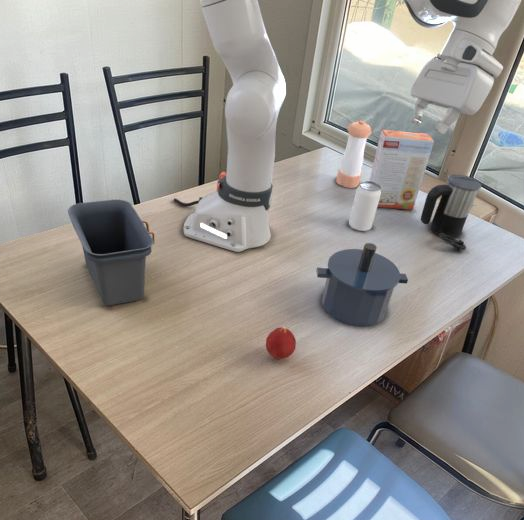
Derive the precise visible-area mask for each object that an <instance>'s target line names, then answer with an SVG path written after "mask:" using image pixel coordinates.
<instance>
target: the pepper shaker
mask: <svg viewBox="0 0 524 520" xmlns="http://www.w3.org/2000/svg"><path fill="white" fill-rule="evenodd" d="M347 133H348V137H347V142H346V147H345V150H344V152H343V154H342V158H341V161H340V167H339V168H338V170H337V174H336V179H335V182H336V183H337V184H338V185H339V186H341V187H344V188H347V189H348V188H349V189H353V188H358V187H359V185H360V182H361V176H362V168H363V165H364V154H365V149H366V144H367V140H368V138H369V137H370V136H371V134H372V127H371V126H370V125H369V124H368V123H366V122H365V121H364V120H359V121H354V122H351V123H349V125H348V127H347Z"/></svg>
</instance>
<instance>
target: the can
mask: <svg viewBox="0 0 524 520" xmlns="http://www.w3.org/2000/svg"><path fill="white" fill-rule="evenodd" d="M380 189H381V186H380V185H379V184H377V183H375V182H372V181H369V180H363V181H360V182H359V185H358V186H357V187H356V191H355V195H354V199H353V203H352V206H351V211H350V215H349V219H348V225H349V227H350V228H351V229H353V230H355V231H358V232H368V231H369V230H371V229H372V227H373V224H374V220H375V217H376V213H377V210H378V207H377V206H378V203H379V199H380V195H381V191H380Z"/></svg>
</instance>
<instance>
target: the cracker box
mask: <svg viewBox="0 0 524 520" xmlns="http://www.w3.org/2000/svg"><path fill="white" fill-rule="evenodd" d="M434 144H435V140H434V139H433V138H432V136H431V135H430V134H429V133H422V132H421V133H420V132H411V131H401V130H392V129H391V130H390V129H381V131H380V135H379V139H378V143H377V147H376V150H375V156H374V159H373V163H372V168H371V172H370V176H369V180H368V181H372V182H375V183H377V184H379V185H380V186H381V189H380V191H381V195H380V199H379V203H378V206H377V208H385V209H396V210H397V209H399V210H408V211H409V210H410V211H413V210H414V207H415V204H416V201H417V198H418V194H419V191H420V189H421V185H422V182H423V178H424V176H425V173H426V169H427V166H428V164H429V159H430V157H431V153H432V149H433V147H434Z"/></svg>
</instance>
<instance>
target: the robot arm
mask: <svg viewBox="0 0 524 520" xmlns="http://www.w3.org/2000/svg"><path fill="white" fill-rule="evenodd" d="M198 1H199V4H200V7H201V11H202V14H203V17H204V20H205V23H206V27H207V30H208V33H209V36H210V39H211V42H212V45H213V49H214V50H215V52H216V53H217V54H218V56H219V57H220V58H221V60H222V62H223V64H224V66H225V68H226V70H227V72H228V74H229V77H230V79H231V82H232V87H231V88H230V89H229V91H228V93H227V95H226V100H225V104H224V105H225V106H224V116H225V122H226V123H225V124H226V125H225V126H226V127H225V128H226V139H227V157H226V171H221V172H220V174H219V176H218V180H217V185H216V190H215V191H213V192H211V193H209V194H207V195H205V196H202V197H201V196H199V198H198V200H194V201H191V202H186V203H185V202H182V201H180V200H179V199H177V198H176V197H174V198H173V202H174V203H177V204H178V205H180V206H182V207H192V206H195V205H196V206H195V208H194V211H193V212H191V214H189V215H188V217H186V219H185V221H184V223H183V229H182V230H183V234H184V236H185V237H187V238H190V239H193V240H196V241H199V242H202V243H206V244H209V245H212V246H215V247H219V248H222V249H225V250H228V251H231V252H235V253H240V252H243V251H245V250H247V249H252V248H253V249H254V248H259V247H262V246H264V245H266V244H268V242H270V240H271V239H272V238H271V237H272V233H271V229H270V228H271V227H270V207H271V205H272V198H273V192H274V191H273V187H274V184H273V182H272V181H273V176H274V175H273V174H274V165H275V159H276V158H275V157H276V131H277V122H278V117H279V113H280V110H281V108H282V106H283V104H284V101H285V99H286V95H287V87H286V86H287V85H286V80H285V76H284V75H283V72H282V69H281V67H280V65H279V62H278V59H277V56H276V53H275V51H274V49H273V46H272V44H271V42H270V38H269V36H268V33H267V30H266V27H265V23H264V19H263V15H262V12H261V8H260V3H259V1H258V0H198ZM521 2H522V0H403V3H404V4H405V6H406V8H407V10H408V12H409V14H410V16H411V18H412V19H413V20H414V22H415V23H416V24H418V25H419V26H420V27H424V28H426V29H427V28H428V29H434V28H435V29H436V28H440V27H442V26H444V25H446V24H447V23H448V22H450V23H452V24H453V29H452V31H451V32H450V33H449V36H448V38H447V40H446V42H445V44H444V46H443V48H442V50H441V52H440V53H437V54H436V56H434V57H433V58H431V59H430V60H428V61H427V62H426V63H425V65H424V66H423V68H422V69H421V70H420V72H419V73H418V75H417V76H416V79H415V80H414V81H413V84H412V85H411V87H410V91H409V95H410V97H412V98H414V99H416V101H415V103H414V109H413V114H412V115H411V118H410V122H411V123H412V124H414V125H415V126H420V125H421V124H422V122H423V121H424V119H425V117H424V116H423V115H424V111H425V110H426V109H427V108H428V106H429V105H433V106H435V107H440V108H443V109H447V110H446V114H445V116H443V118H442V119H441V120H438V121H437V123H436V125H435V127H434V131H435V132H436V133H439V134H442V135H445V134H446V133H447V131H448V129H449V127H450V126H451V125H452V124H453V123H455V122H456V121H457V120H458V119H459V118H460V116H461V114H465V115H468V116H473V115H475V113H477V112H478V111H479V110H480V109H481V107H482V106H483V104H484V103H485V101H486V99H487V97H488V95H489V94H490V92H491V91H492V88H493V86H494V82H495V78H496V79H497V78H498V77H499V76H500V75H501V74H502V71H503V69H504V66H503V65H502V64H501V63H500V62H499V61H498V60H497V59H496V58H495V57H494V56H493V54H494V53H495V51H496V49H497V46H498V42H499V40H500V38H501V36H502V34H503V33H504V32H505V31H506V30H507V29H508V27H509V25H510V24H511V22H512V20H513V18H514V16H515V15H516V12H517V11H518V9H519V7H520V4H521Z"/></svg>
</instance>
